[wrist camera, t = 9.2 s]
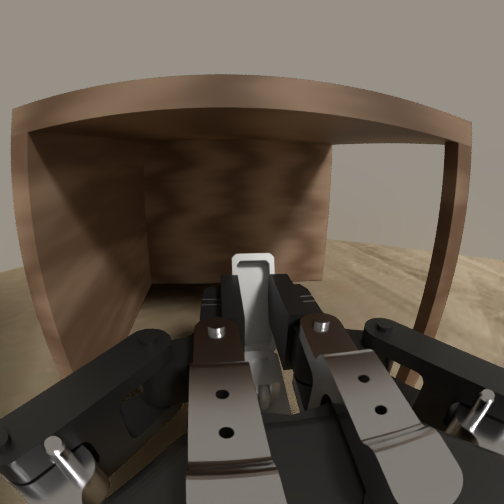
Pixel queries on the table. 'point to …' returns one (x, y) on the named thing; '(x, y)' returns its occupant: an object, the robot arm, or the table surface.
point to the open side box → (199, 192)
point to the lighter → (260, 331)
